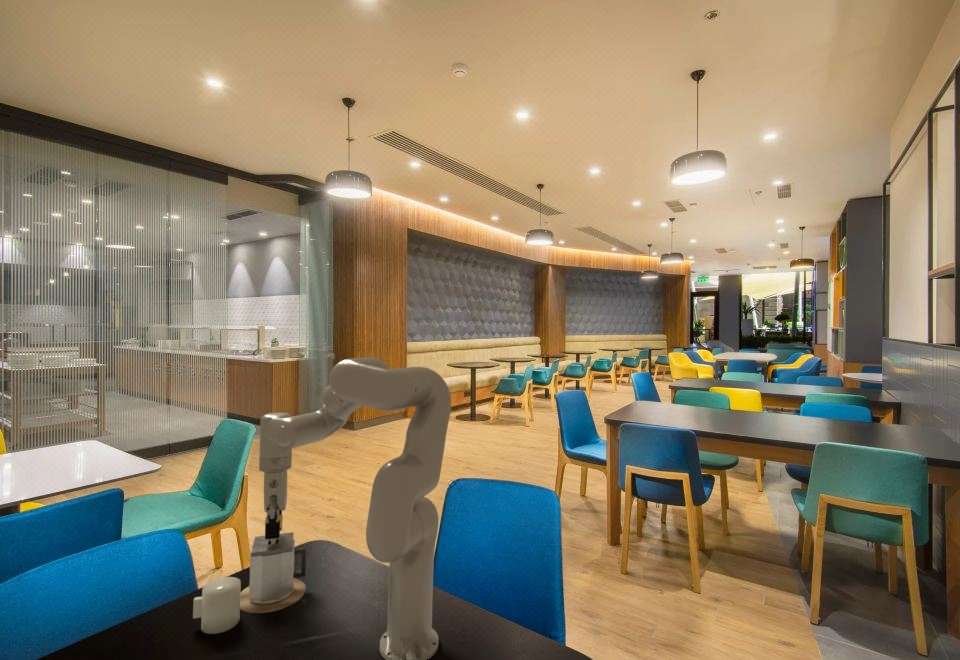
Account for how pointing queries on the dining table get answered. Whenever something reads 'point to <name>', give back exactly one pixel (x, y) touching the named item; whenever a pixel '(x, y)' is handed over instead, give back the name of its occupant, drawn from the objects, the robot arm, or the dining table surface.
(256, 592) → the grey handled container
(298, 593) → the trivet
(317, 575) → the dining table surface
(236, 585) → the mug
